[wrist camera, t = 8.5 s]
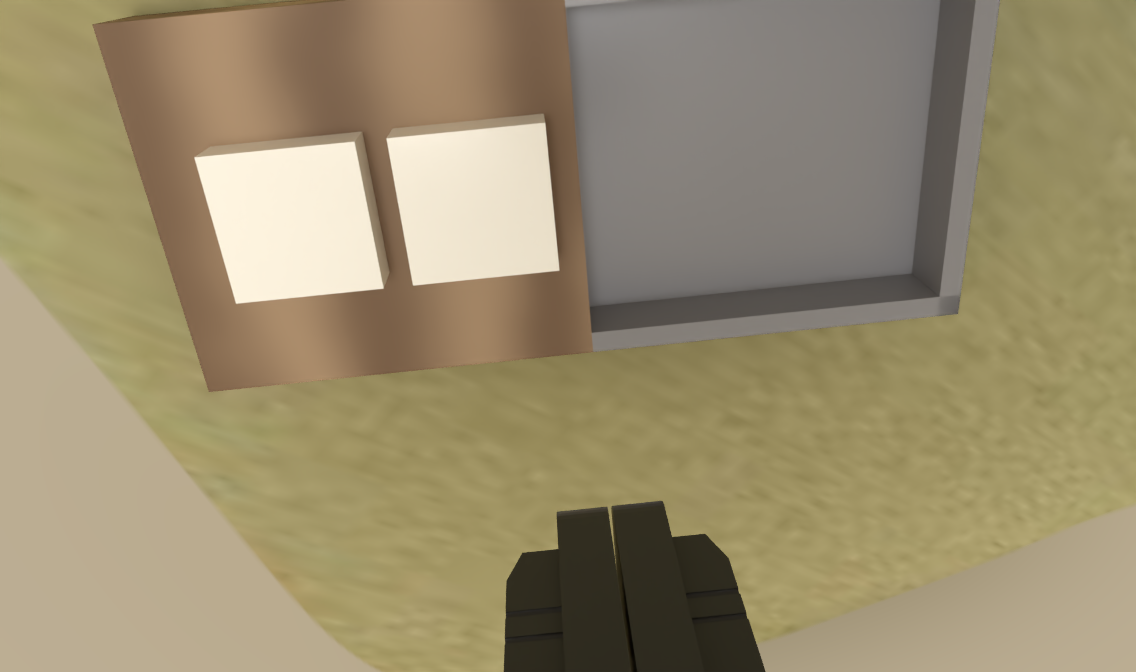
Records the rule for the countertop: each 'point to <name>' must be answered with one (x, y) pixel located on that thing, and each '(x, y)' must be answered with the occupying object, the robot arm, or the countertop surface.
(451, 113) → the wooden switch plate
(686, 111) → the bin
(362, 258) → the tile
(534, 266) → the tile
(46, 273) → the countertop surface
